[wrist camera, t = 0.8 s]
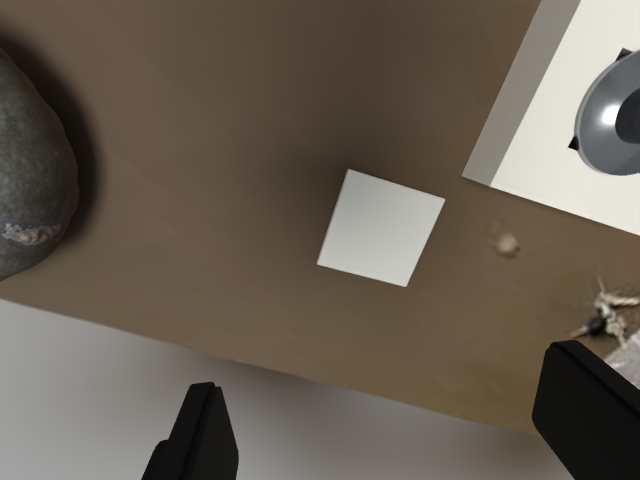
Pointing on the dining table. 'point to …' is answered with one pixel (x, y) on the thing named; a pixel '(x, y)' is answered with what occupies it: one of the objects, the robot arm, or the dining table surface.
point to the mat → (378, 228)
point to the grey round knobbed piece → (611, 119)
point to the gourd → (31, 174)
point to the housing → (559, 112)
